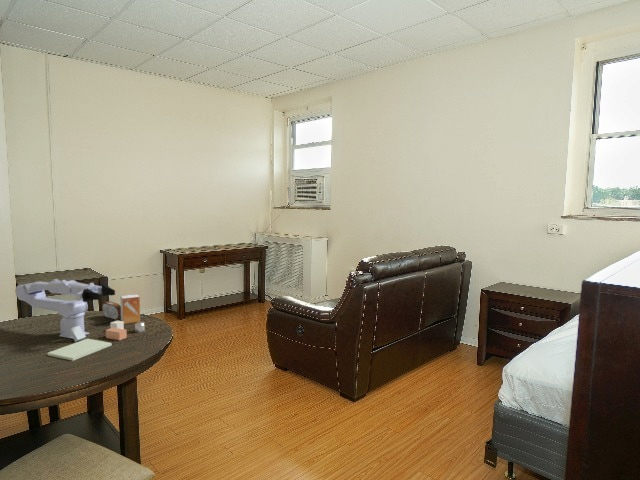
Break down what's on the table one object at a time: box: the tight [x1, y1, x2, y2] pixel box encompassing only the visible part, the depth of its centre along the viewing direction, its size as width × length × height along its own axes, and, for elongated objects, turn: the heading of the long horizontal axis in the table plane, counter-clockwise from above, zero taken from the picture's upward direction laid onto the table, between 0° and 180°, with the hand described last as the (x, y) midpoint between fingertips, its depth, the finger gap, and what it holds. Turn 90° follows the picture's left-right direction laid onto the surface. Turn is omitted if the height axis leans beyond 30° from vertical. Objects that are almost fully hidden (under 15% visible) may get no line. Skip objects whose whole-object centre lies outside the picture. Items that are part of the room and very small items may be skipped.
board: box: [47, 338, 112, 362], centre depth 170 cm, size 14×18×1 cm
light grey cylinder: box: [134, 321, 146, 334], centre depth 194 cm, size 4×4×4 cm
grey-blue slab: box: [69, 326, 87, 343], centre depth 181 cm, size 6×4×2 cm
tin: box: [101, 300, 121, 321], centre depth 213 cm, size 15×3×8 cm, turn 57°
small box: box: [119, 293, 141, 325], centre depth 208 cm, size 8×6×13 cm
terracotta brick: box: [105, 328, 128, 341], centre depth 185 cm, size 8×4×4 cm, turn 69°
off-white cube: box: [109, 320, 125, 329], centre depth 195 cm, size 4×4×4 cm
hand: (107, 294), depth 178 cm, fingers open, 7 cm apart
